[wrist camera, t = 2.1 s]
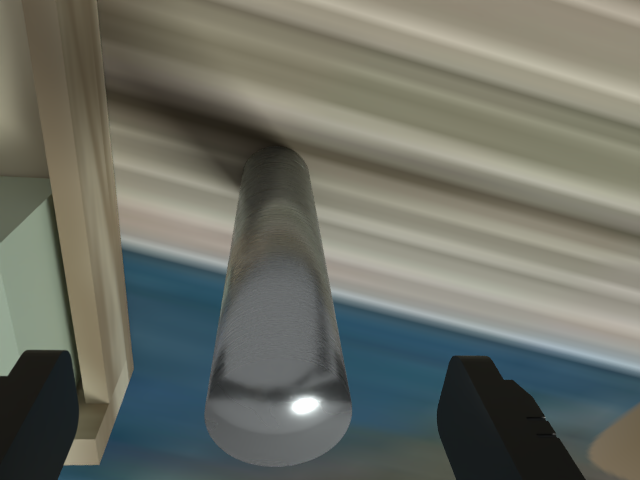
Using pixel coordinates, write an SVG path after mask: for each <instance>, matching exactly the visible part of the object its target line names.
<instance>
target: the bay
mask: <svg viewBox="0 0 640 480" xmlns="http://www.w3.org/2000/svg"><path fill="white" fill-rule="evenodd" d="M0 176H8V177H28V178H49V179H50V183H51V189H52V195H53V201H54V208H55V214H56V220H57V227H58V233H59V239H60V245H61V252H62V258H63V264H64V270H65V277H66V283H67V289H68V296H69V302H70V308H71V314H72V321H73V327H74V333H75V339H76V346H77V352H78V358H79V365H80V371H81V378H80V380H79V382H78V384H77V386H76V391H77V397H78V404H79V421H78V427H77V432H76V435H75V438H74V441H73V443H72V446H71V448H70V451H69V453H68V455H67V458H66V460H65V463H64V465H99V464H100V461H101V458H102V456H103V453H104V450H105V447H106V444H107V442H108V439H109V436H110V433H111V431H112V428H113V425H114V422H115V419H116V417H117V414H118V411H119V408H120V406H121V403H122V400H123V397H124V394H125V392H126V389H127V386H128V383H129V381H130V378H131V375H132V372H133V369H134V368H133V358H132V348H131V338H130V328H129V318H128V308H127V298H126V288H125V278H124V268H123V258H122V248H121V238H120V228H119V218H118V208H117V198H116V188H115V178H114V168H113V158H112V148H111V138H110V128H109V118H108V108H107V98H106V88H105V78H104V68H103V58H102V48H101V38H100V28H99V18H98V8H97V0H0Z"/></svg>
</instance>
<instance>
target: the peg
mask: <svg viewBox="0 0 640 480" xmlns="http://www.w3.org/2000/svg"><path fill="white" fill-rule="evenodd" d="M351 416H352V404H351V398H350V392H349V387H348V382H347V376H346V371H345V365H344V360H343V354H342V349H341V344H340V338H339V333H338V327H337V322H336V316H335V311H334V305H333V300H332V295H331V289H330V284H329V278H328V273H327V267H326V262H325V257H324V251H323V246H322V240H321V235H320V229H319V224H318V219H317V213H316V208H315V202H314V197H313V191H312V186H311V181H310V175H309V171H308V168H307V165H306V163H305V162H304V160H303V159H302V158H301V157H300V156H299V155H298V154H297V153H295V152H294V151H292V150H290V149H287V148H284V147H278V146H275V147H267V148H264V149H261V150H259V151H258V152H256V153H255V154H253V155H252V156H251V157H250V158H249V160H248V161H247V163H246V164H245V167H244V170H243V174H242V180H241V187H240V193H239V199H238V205H237V212H236V218H235V224H234V231H233V237H232V243H231V249H230V256H229V262H228V268H227V274H226V281H225V287H224V293H223V299H222V306H221V312H220V318H219V324H218V331H217V337H216V343H215V349H214V356H213V362H212V368H211V374H210V381H209V387H208V393H207V399H206V406H205V423H206V427H207V430H208V432H209V434H210V436H211V438H212V439H213V440H214V442H215V443H216V444H217V445H218V446H219V447H220V448H221V449H222V450H224V451H225V452H226V453H228V454H229V455H231V456H232V457H234V458H237V459H239V460H241V461H244V462H247V463H250V464H254V465H259V466H267V467H282V466H291V465H296V464H300V463H304V462H307V461H310V460H312V459H314V458H317V457H319V456H320V455H322V454H324V453H326V452H327V451H328V450H330V449H331V448H332V447H334V446H335V445H336V444H337V443H338V442H339V441H340V439H341V438H342V437H343V436H344V434H345V432H346V431H347V429H348V426H349V424H350V421H351Z"/></svg>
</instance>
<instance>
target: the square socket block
mask: <svg viewBox="0 0 640 480" xmlns="http://www.w3.org/2000/svg"><path fill="white" fill-rule="evenodd" d="M26 350H67V351H69V353H70V355H71V359H72V365H73V371H74V378H75V384H76V386H77V384H78V382H79V380H80V378H81V371H80V365H79V358H78V352H77V346H76V339H75V333H74V327H73V321H72V314H71V308H70V302H69V296H68V289H67V283H66V277H65V270H64V264H63V258H62V252H61V245H60V239H59V233H58V227H57V220H56V214H55V208H54V201H53V195H52V189H51V183H50V179H49V178H28V177H8V176H0V376H8V374H9V373H10V371H11V370H12V368H13V367H14V365H15V364H16V362H17V361H18V359H19V358H20V356H21V355H22V353H23V352H24V351H26Z"/></svg>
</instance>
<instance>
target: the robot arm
mask: <svg viewBox="0 0 640 480" xmlns="http://www.w3.org/2000/svg"><path fill="white" fill-rule="evenodd" d="M78 421H79V404H78V397H77V391H76V384H75V378H74V371H73V365H72V359H71V355H70V353H69V351H67V350H26V351H24V352H23V353H22V355H21V356H20V358H19V359H18V361H17V362H16V364H15V365H14V367H13V368H12V370H11V371H10V373H9V374H8V376H0V480H58V477H59V475H60V472H61V470H62V468H63V465H64V463H65V460H66V458H67V455H68V453H69V451H70V448H71V446H72V443H73V441H74V438H75V435H76V432H77V427H78ZM437 425H438V431H439V435H440V438H441V441H442V444H443V446H444V449H445V451H446V454H447V457H448V459H449V462H450V464H451V467H452V470H453V472H454V475H455V477H456V480H586V479H585V478H584V476H583V475H582V473H581V472H580V470H579V469H578V467H577V465H576V464H575V462H574V461H573V459H572V458H571V456H570V455H569V453H568V451H567V450H566V448H565V447H564V445H563V444H562V442H561V441H560V439H559V438H557V437H556V433H555V431H554V430H553V428H552V427H551V425H550V423H549V422H548V421H546V420H545V416H544V414H543V413H542V411H541V409H540V408H539V406H538V405H537V403H536V402H535V400H534V398H533V397H532V396H531V395H530V394H528V393H527V392H526V391H525V390H524V389H523V388H521V387H520V386H519V385H518V384H517V383H516V382H514V381H513V380H504V379H503V378H502V376H501V374H500V373H499V371H498V369H497V368H496V366H495V364H494V363H493V361H492V360H491V359H490V358H489V357H488V356H453V357H452V358H451V360H450V362H449V365H448V369H447V373H446V377H445V381H444V385H443V389H442V392H441V396H440V400H439V404H438V409H437Z"/></svg>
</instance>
